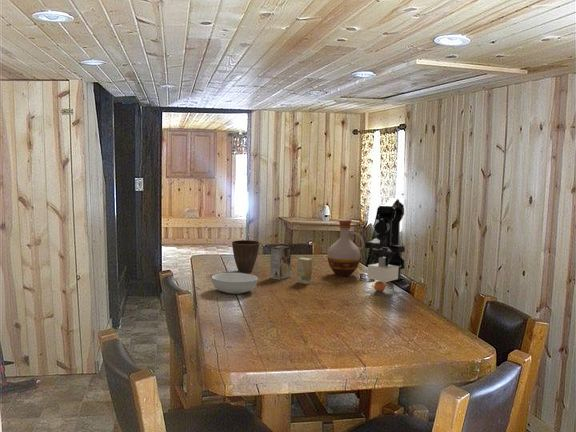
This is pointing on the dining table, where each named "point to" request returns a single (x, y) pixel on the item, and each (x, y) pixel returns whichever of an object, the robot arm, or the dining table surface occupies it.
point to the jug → (344, 252)
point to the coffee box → (280, 262)
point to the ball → (379, 286)
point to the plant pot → (245, 254)
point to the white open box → (382, 271)
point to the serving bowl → (234, 282)
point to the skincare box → (304, 270)
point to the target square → (383, 293)
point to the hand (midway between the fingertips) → (383, 265)
